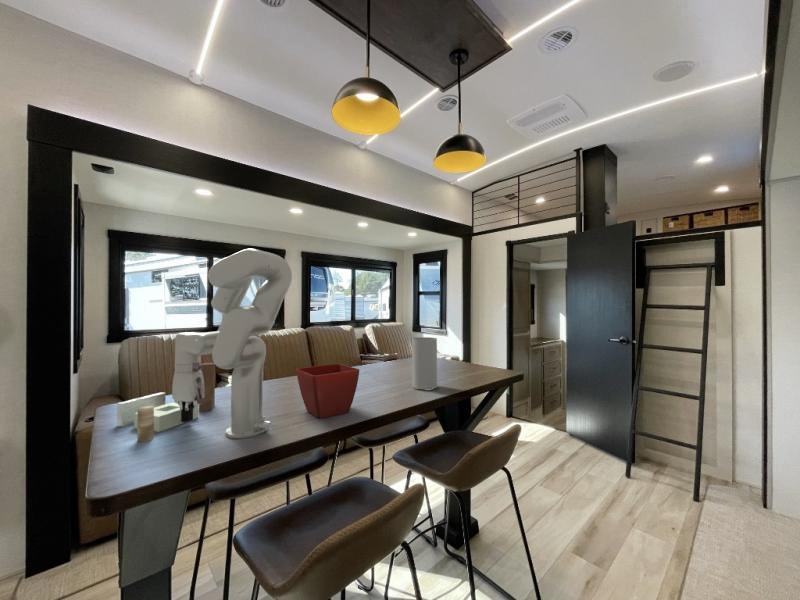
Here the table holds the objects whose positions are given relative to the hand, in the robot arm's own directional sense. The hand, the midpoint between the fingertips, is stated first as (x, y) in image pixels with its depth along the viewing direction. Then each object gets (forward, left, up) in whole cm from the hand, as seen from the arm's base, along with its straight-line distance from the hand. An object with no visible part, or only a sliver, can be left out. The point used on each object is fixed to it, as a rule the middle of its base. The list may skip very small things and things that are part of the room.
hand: (187, 420), depth 113 cm
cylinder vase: (-67, -76, -2) cm, 101 cm away
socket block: (+9, 0, -2) cm, 9 cm away
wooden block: (+10, -17, -2) cm, 20 cm away
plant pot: (-39, -28, -2) cm, 48 cm away
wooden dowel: (+1, +13, -2) cm, 13 cm away
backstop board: (+22, 0, -2) cm, 22 cm away
